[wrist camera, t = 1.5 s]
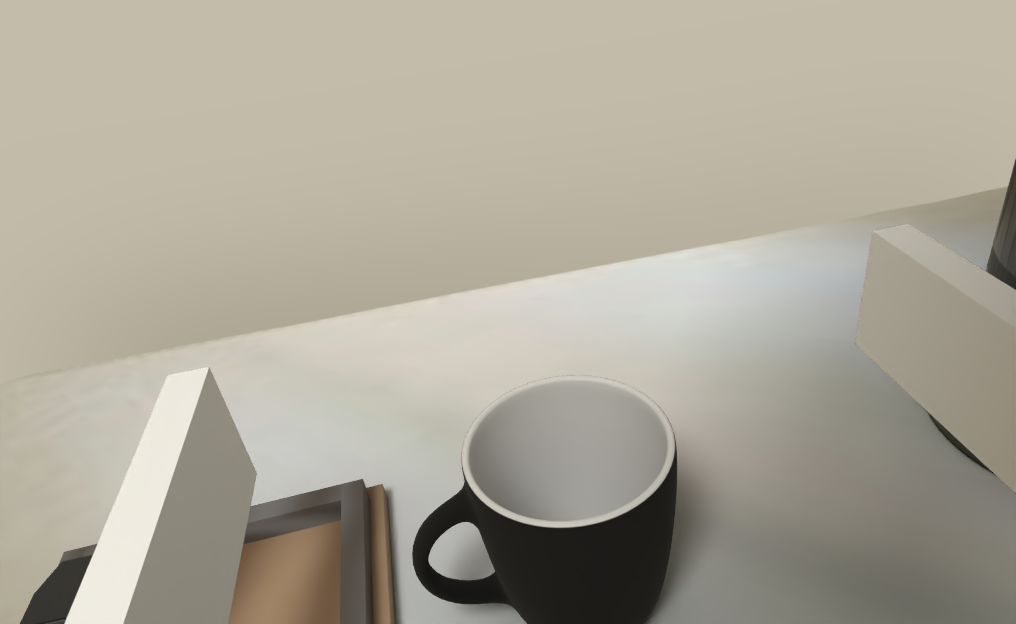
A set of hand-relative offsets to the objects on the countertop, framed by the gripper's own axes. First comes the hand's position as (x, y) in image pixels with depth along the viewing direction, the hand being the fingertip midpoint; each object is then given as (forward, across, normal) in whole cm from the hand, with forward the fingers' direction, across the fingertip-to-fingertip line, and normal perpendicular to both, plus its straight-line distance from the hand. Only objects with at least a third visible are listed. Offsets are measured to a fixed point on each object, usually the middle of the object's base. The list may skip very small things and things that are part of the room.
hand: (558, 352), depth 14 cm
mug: (+10, 0, -22) cm, 25 cm away
